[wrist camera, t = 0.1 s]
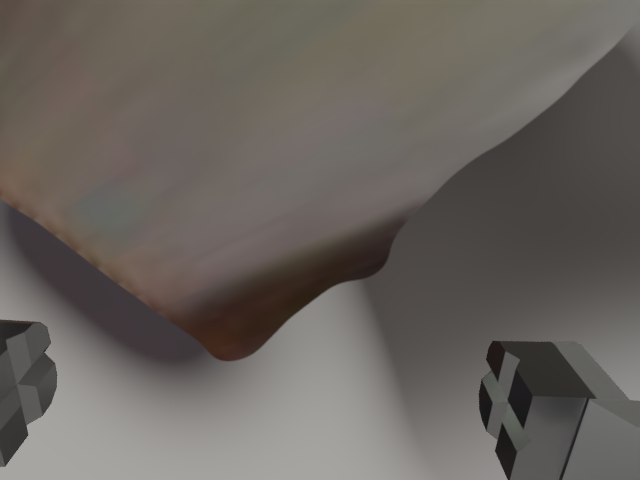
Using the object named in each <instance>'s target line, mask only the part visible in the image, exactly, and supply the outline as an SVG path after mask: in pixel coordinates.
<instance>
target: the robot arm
mask: <svg viewBox="0 0 640 480" xmlns="http://www.w3.org/2000/svg"><path fill="white" fill-rule="evenodd" d="M50 343H51V341H50V337H49V333H48V329H47V327H46V326H45V325H44V324H42V323H41V322H30V321H13V320H0V467H5V466H6V465H7V463H8V462H9V461H10V459H11V458H12V456H13V455H14V454H15V452H16V451H17V450H18V448H19V447H20V446H21V444H22V443H23V442H24V440H25V439H26V437H27V436H28V431H27V426H26V425H27V424H29V423H31V422H33V421H34V420H36V419H38V418H40V417H41V416H43V414H44V413H45V411H46V410H47V409H48V407H49V406H50V404H51V402H52V399H53V396H54V393H55V390H56V387H57V371H56V366H55V363H54V362H53V361H52V360H51V359H50V358H49V357H48V356H47V355H46V354H45V353H44V352H45V351H46V349H47V348H48V346H49V345H50ZM486 360H487V362H488V364H489V366H490V368H491V371H490V372H489V373H488V374H487V375H486V376H485V377H483V378H482V379H481V385H480V390H479V410H480V414H481V418H482V421H483V424H484V426H485V429H486V431H487V432H488V433H490V434H491V435H492V436H493V437H495V438H496V439H497V440H498V441H497V445H496V449H495V452H496V454H497V456H498V459H499V460H500V463H501V465H502V468H503V470H504V472H505V475H506V477H507V479H508V480H640V401H632V400H629V399H628V397H627V396H626V395H625V394H624V393H623V392H622V391H621V390H620V388H619V387H618V386H617V385H616V384H615V383H614V382H613V381H612V379H611V378H610V377H609V376H608V375H607V374H606V372H605V371H604V370H603V369H602V368H601V367H600V366H599V364H598V363H597V362H596V361H595V360H594V359H593V358H592V356H591V355H590V354H589V353H588V352H587V351H586V350H585V349H584V347H583V346H582V345H580V344H578V343H576V342H574V341H567V342H566V341H565V342H564V341H547V342H535V341H534V342H533V341H529V342H528V341H492V343H491V345H490V346H489V349H488V353H487V357H486Z"/></svg>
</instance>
